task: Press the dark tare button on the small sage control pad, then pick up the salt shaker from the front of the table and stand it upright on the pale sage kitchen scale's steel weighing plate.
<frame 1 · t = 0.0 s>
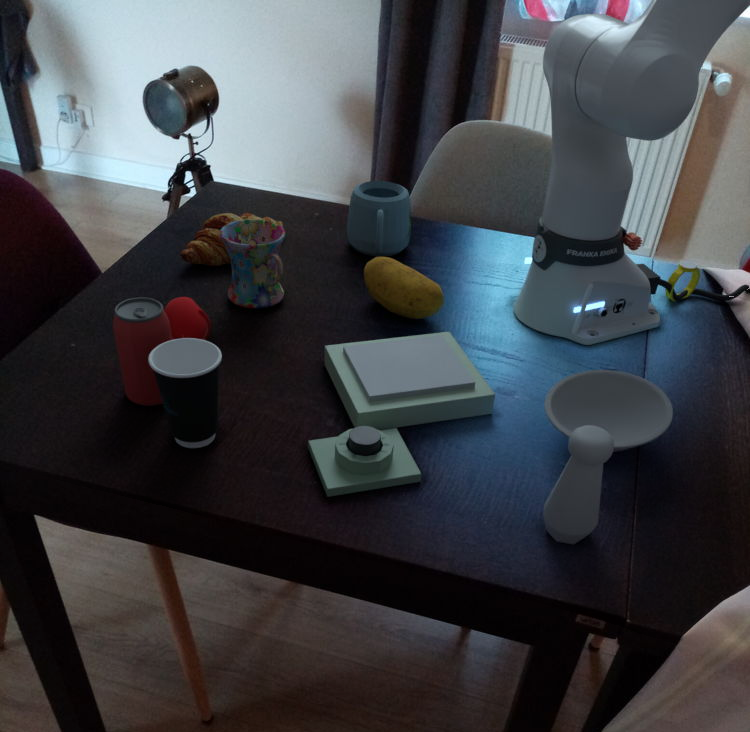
beer can: (153, 395, 100), on the table
dixie cup: (195, 437, 93), on the table
tare button: (364, 441, 89), point 3 cm above the table, slide at 0.1 cm
watch: (677, 299, 127), on the table
cap: (188, 342, 109), on the table
croissant: (236, 254, 131), on the table
mug: (261, 304, 119), on the table
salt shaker: (565, 532, 84), on the table
scale: (405, 388, 103), on the table
potato: (400, 313, 119), on the table
mug 2: (377, 253, 135), on the table
dish: (598, 440, 97), on the table
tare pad: (363, 464, 91), on the table
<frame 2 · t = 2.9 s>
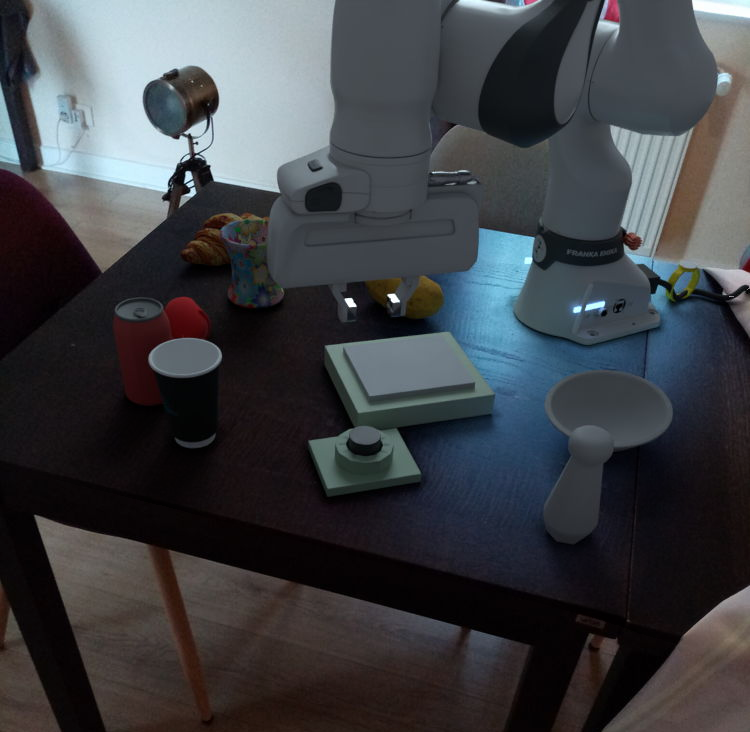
hand: (371, 316, 78), 19 cm above the table, tool pointing down, fingers open, 4 cm apart
nothing on the table moved.
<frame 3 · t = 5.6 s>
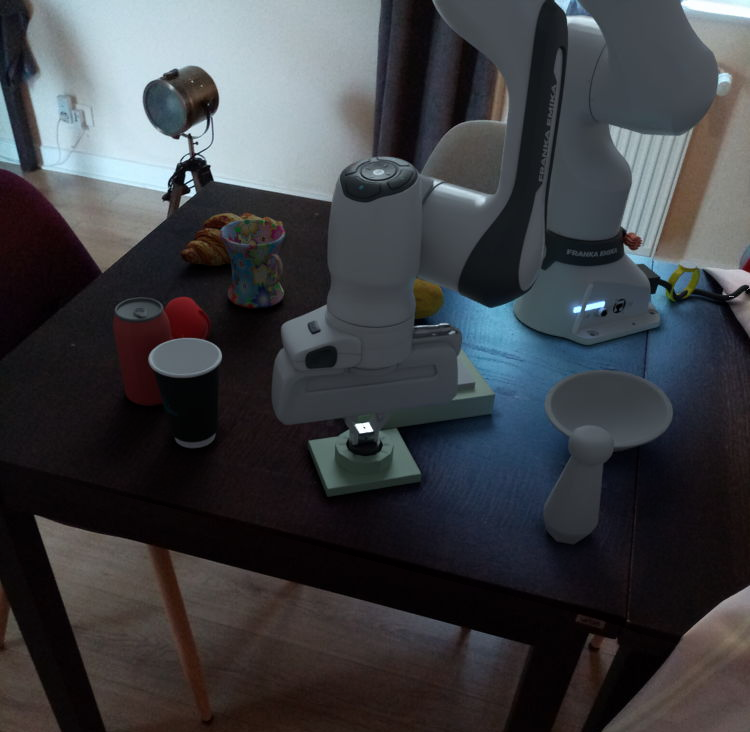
hand: (363, 440, 88), 4 cm above the table, tool pointing down, fingers closed, pressing on tare button
tare button: (364, 446, 89), point 3 cm above the table, slide at -0.7 cm, touching gripper
everything else where it was.
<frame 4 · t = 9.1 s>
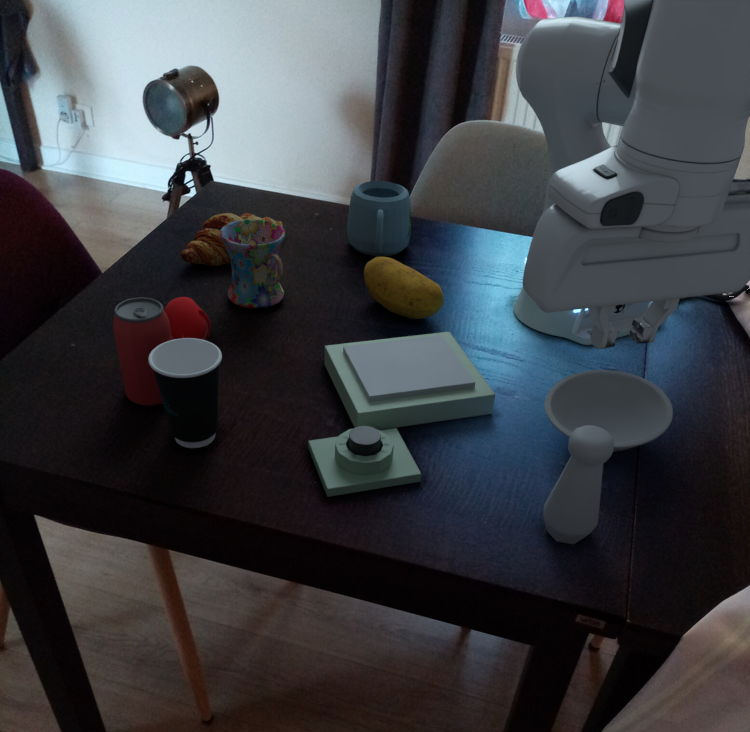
hand: (621, 342, 69), 23 cm above the table, tool pointing down, fingers open, 3 cm apart
tare button: (364, 441, 89), point 3 cm above the table, slide at 0.1 cm
everything else where it was.
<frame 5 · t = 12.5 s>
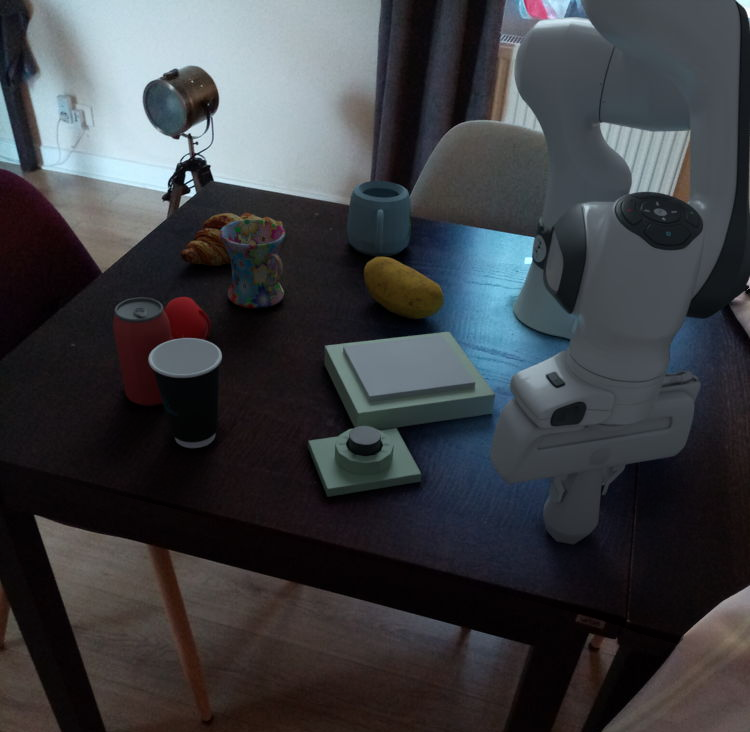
hand: (576, 495, 81), 5 cm above the table, tool pointing down, fingers closed on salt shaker, 3 cm apart
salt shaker: (565, 532, 84), on the table, touching gripper
everything else where it was.
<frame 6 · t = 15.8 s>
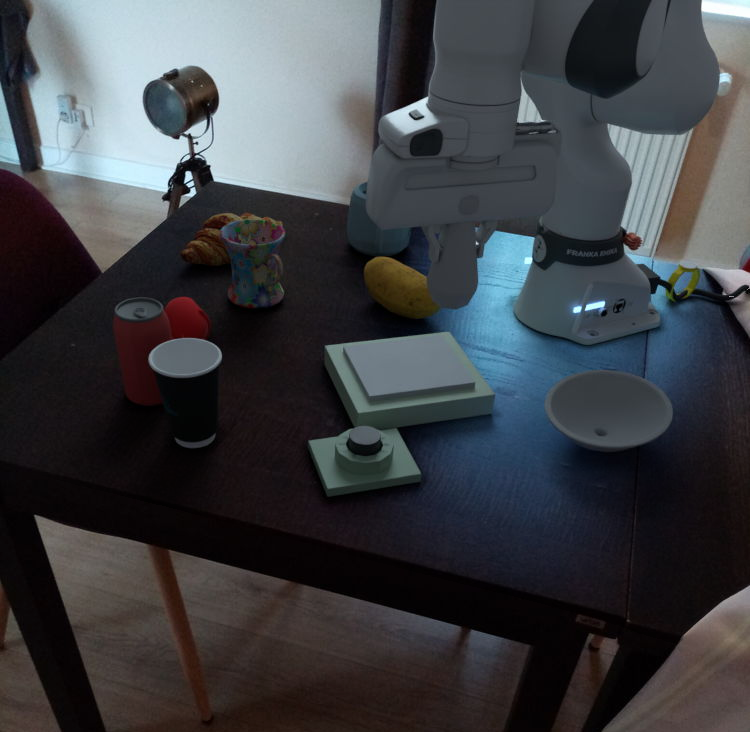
hand: (455, 258, 86), 21 cm above the table, tool pointing down, fingers closed on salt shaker, 3 cm apart
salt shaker: (449, 302, 89), point 15 cm above the table, touching gripper
everything else where it was.
when the fingers open (9 cm above the table, at t = 19.5 s): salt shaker stays where it is, resting on scale.
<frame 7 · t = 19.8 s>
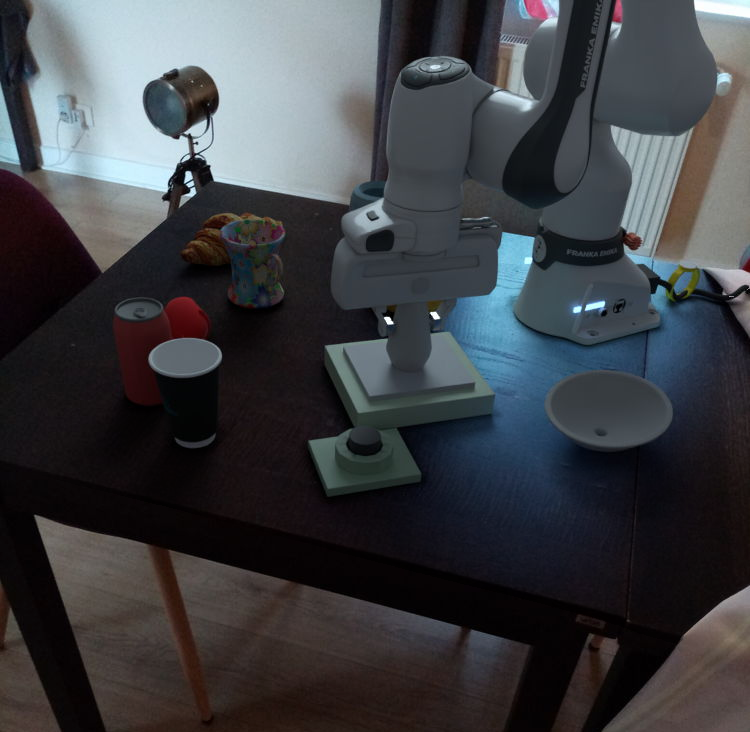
hand: (410, 330, 98), 9 cm above the table, tool pointing down, fingers open, 5 cm apart
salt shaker: (407, 365, 101), point 4 cm above the table, touching scale
everything else where it was.
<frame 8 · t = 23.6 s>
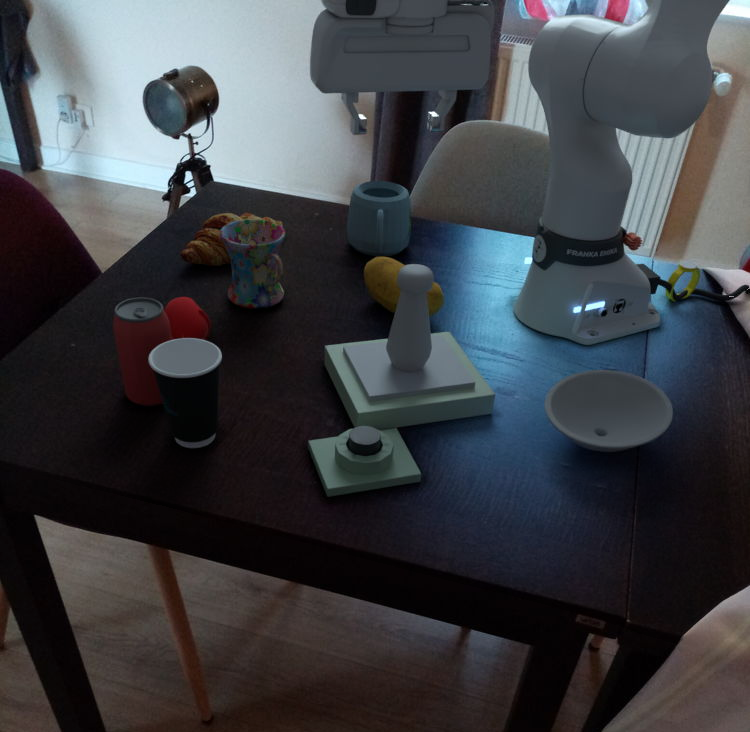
hand: (397, 131, 91), 29 cm above the table, tool pointing down, fingers open, 8 cm apart
nothing on the table moved.
at the end: tare button pushed in 1.0 cm at the most during the clip, back to where it started at the end; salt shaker inside the target area on the scale (0.1 cm from its centre), point 3.6 cm above the scale's base; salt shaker tilted 0° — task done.
